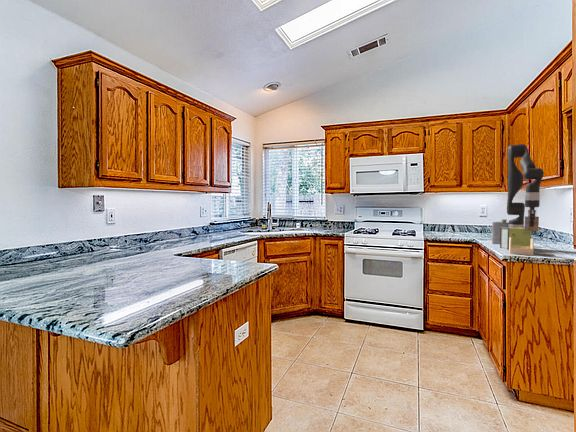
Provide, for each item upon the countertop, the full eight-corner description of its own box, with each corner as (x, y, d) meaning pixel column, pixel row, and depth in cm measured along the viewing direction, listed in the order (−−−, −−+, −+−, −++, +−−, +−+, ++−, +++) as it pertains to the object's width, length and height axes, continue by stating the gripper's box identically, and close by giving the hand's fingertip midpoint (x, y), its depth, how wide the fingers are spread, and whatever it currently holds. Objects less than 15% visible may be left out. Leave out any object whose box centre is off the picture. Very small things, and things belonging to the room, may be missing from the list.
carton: (508, 251, 224) (509, 237, 224) (531, 253, 218) (531, 238, 217) (509, 254, 213) (510, 239, 212) (533, 256, 206) (533, 240, 206)
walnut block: (524, 230, 216) (524, 216, 215) (537, 230, 212) (538, 216, 211) (524, 230, 211) (525, 216, 211) (538, 231, 208) (538, 216, 207)
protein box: (531, 250, 228) (532, 228, 227) (508, 250, 228) (509, 228, 227) (520, 248, 238) (521, 227, 238) (499, 248, 239) (499, 227, 238)
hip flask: (515, 245, 257) (516, 219, 256) (515, 245, 254) (516, 219, 253) (492, 243, 268) (492, 218, 267) (491, 243, 265) (492, 219, 264)
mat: (535, 253, 215) (535, 252, 215) (553, 255, 210) (553, 254, 210) (537, 256, 206) (537, 255, 206) (556, 257, 202) (556, 256, 202)
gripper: (524, 199, 219) (523, 225, 219) (525, 199, 207) (524, 226, 207) (538, 199, 215) (537, 225, 215) (540, 199, 203) (539, 227, 203)
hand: (531, 226), depth 211 cm, fingers closed on walnut block, 5 cm apart
